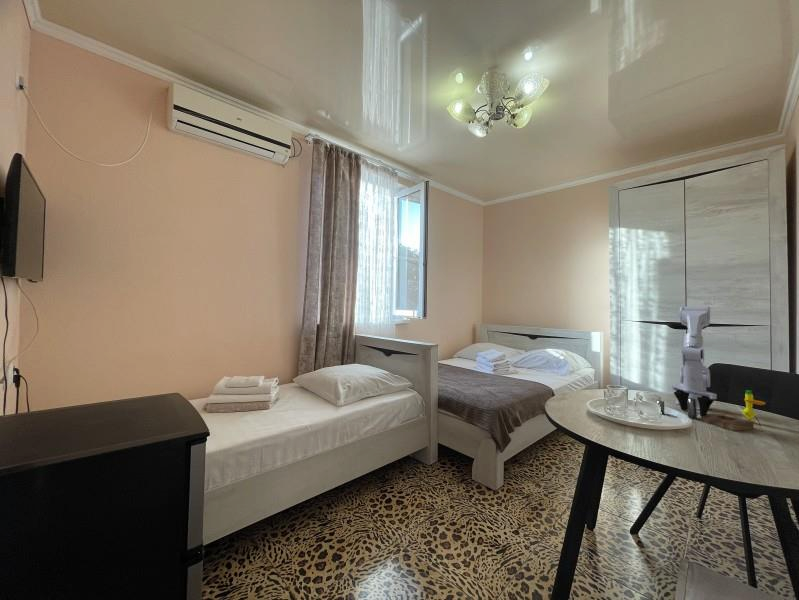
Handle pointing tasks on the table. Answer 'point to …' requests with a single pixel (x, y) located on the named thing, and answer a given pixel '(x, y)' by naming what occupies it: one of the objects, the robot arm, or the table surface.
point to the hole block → (727, 421)
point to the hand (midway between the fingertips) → (693, 412)
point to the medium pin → (661, 405)
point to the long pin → (692, 408)
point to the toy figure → (750, 406)
